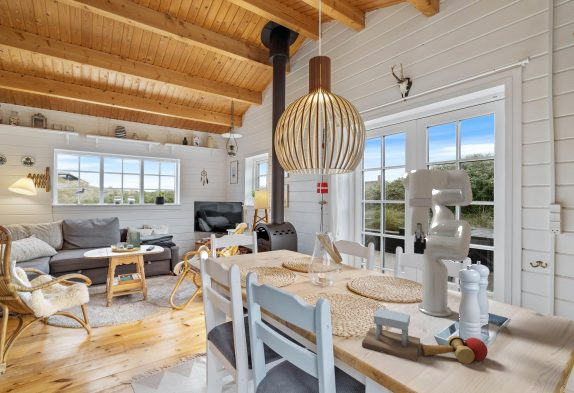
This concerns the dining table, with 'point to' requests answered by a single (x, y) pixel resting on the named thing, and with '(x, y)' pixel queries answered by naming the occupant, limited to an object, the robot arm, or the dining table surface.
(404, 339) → the stool
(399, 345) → the walnut board
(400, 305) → the dining table surface
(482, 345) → the kendama
